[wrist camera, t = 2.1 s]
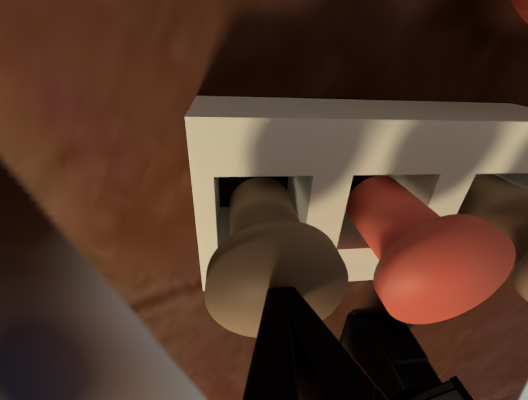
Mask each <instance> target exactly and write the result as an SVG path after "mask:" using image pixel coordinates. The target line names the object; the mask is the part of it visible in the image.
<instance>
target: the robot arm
mask: <svg viewBox="0 0 528 400" xmlns="http://www.w3.org/2000/svg"><path fill="white" fill-rule="evenodd" d="M411 326H412V324H410V323H405V322H401V321H399V320H397V319H395V318H394V317H392V316H391V315H390V314H389V313H388V312H386V313H373V314H361V315H352V316H349V317H348V318H347V320H346V324H345V327H344V330H343V333H342V337H341V340H340V341H339V340H338V339H337V338H336V336H335V335H334V334H333V333H332V332H331V330H330V329H329V328H328V327H327V325H326V324H325V323H324V322H323V321H322V319H321V318H320V317H319V316H318V315H317V313H316V312H315V311H314V310H313V309H312V307H311V306H310V305H309V304H308V303H307V301H306V300H305V299H304V298H303V297H302V295H301V294H300V293H299V292H298V291H297V289H296V288H295V287H293V286H287V287H282V288H280V287H272V288H268V290H267V294H266V298H265V303H264V307H263V311H262V316H261V320H260V325H259V329H258V333H257V338H256V342H255V347H254V351H253V356H252V360H251V364H250V369H249V373H248V378H247V382H246V386H245V391H244V395H243V400H473V399H472V397H471V396H470V395H469V393H468V392H467V390H466V389H465V388H464V386H463V385H462V383H461V382H460V381H459V379H458V378H457V376H455V377H452V378H450V380H449V381H446V382H444V383H442V382H441V380H440V379H439V377H438V375H437V374H436V372H435V371H434V369H433V368H432V366H431V364H430V363H429V361H428V360H429V359H428V357H427V355H426V354H425V352H424V351H423V349H422V348H421V346H420V344H419V343H418V341H417V340H416V338H415V337H414V335H413V334H412V332H411V330H410V328H411Z"/></svg>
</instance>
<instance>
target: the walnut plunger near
mask: <svg viewBox="0 0 528 400" xmlns="http://www.w3.org/2000/svg"><path fill="white" fill-rule="evenodd" d="M229 213H230V237H229V238H227V239H226V240H225V241H224V242H223V243H222V244H221V245H220V246H219V247H218V248H217V249H216V251H215V252H214V253H213V255H212V257H211V259H210V261H209V264H208V267H207V272H206V284H205V303H206V306H207V309H208V311H209V313H210V314H211V316H212V317H213V318H214V319H215V321H216V322H218V323H219V324H220V325H221V326H223V327H224V328H226V329H228V330H230V331H232V332H234V333H237V334H240V335H244V336H249V337H256V338H257V333H258V329H259V325H260V320H261V316H262V311H263V307H264V303H265V298H266V294H267V290H268V288H272V287H280V288H282V287H287V286H293V287H295V288H296V289H297V291H298V292H299V293H300V294H301V295H302V297H303V298H304V299H305V300H306V301H307V303H308V304H309V305H310V306H311V307H312V309H313V310H314V311H315V312H316V313H317V315H318V316H319V317H320V318H321V319H322V320H324V319H325V318H326V317H328V316H329V315H330V314H331V313H332V312H333V311H334V310H335V309H336V308H337V307H338V305H339V304H340V303H341V301H342V299H343V297H344V296H345V293H346V290H347V286H348V271H347V268H346V265H345V263H344V261H343V259H342V257H341V256H340V254H339V252H338V250H337V248H336V246H335V245H334V243H333V241H332V240H331V239H330V238H329V237H328V236H327V235H326V234H325V233H323V232H322V231H321V230H319V229H317V228H316V227H313V226H311V225H309V224H306V223H302V222H300V221H299V219H298V216H297V214H296V211H295V209H294V207H293V204H292V202H291V199H290V197H289V194H288V192H287V190H286V189H285V187H284V186H283V185H282V184H281V183H279V182H278V181H276V180H274V179H271V178H266V177H257V178H252V179H249V180H247V181H245V182H243V183H241V184H240V185H239V186H238V187H237V188H236V189H235V190H234V192H233V193H232V195H231V198H230V203H229Z"/></svg>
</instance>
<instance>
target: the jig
mask: <svg viewBox="0 0 528 400" xmlns="http://www.w3.org/2000/svg"><path fill="white" fill-rule="evenodd" d="M185 125H186V135H187V144H188V154H189V163H190V173H191V182H192V192H193V202H194V211H195V221H196V230H197V240H198V249H199V259H200V268H201V278H202V287H203V291H205V284H206V272H207V267H208V264H209V261H210V259H211V257H212V255H213V253H214V252H215V251H216V249H217V248H218V247H219V246H220V245H221V244H222V243H223V242H224V241H225V240H226V239H227V238H229V237H230V213H229V207H220V195H219V177H263V176H288V183H287V192H288V194H289V197H290V199H291V202H292V204H293V207H294V209H295V211H296V214H297V216H298V219H299V221H300V222H302V223H306V224H309V225H311V226H313V227H316V228H317V229H319V230H321V231H322V232H323V233H325V234H326V235H327V236H328V237H329V238H330V239H331V240H332V241H333V243H334V245H335V246H336V248H337V250H338V252H339V254H340V256H341V257H342V259H343V261H344V263H345V265H346V268H347V271H348V281H361V280H373V278H374V272H375V269H376V266H377V264H378V262H379V259H378V258H377V257H376V255H375V254H374V252H373V251H372V249H371V248H370V247H369V245H368V244H367V242H366V241H365V240H364V238H363V237H362V235H361V234H360V232H359V231H358V230H357V228H356V227H355V225H354V224H353V222H352V221H351V220H350V218H349V217H348V215H347V212H346V205H347V201H348V196H349V192H350V188H351V184H352V179H353V175H380V176H389V177H391V178H393V179H395V180H396V181H397V182H398V183H400V184H401V185H402V186H403V187H405V188H406V189H407V190H408V191H410V192H411V193H412V194H413V195H415V196H416V197H417V198H418V199H419V200H421V201H422V202H423V203H424V204H426V205H427V206H428V207H429V208H431V209H432V210H433V211H434V212H436V213H437V214H438V215H439V216H440V217H441V216H446V215H453V214H457V212H458V210H459V208H460V206H461V204H462V202H463V200H464V198H465V196H466V194H467V192H468V190H469V188H470V186H471V184H472V181H473V179H474V178H475V177H477V176H480V175H485V174H493V175H496V176H498V177H500V178H502V179H504V180H506V181H508V182H510V183H513V184H515V185H517V186H519V187H521V188H523V189H525V190H527V191H528V107H525V106H521V105H516V104H511V103H476V102H435V101H394V100H353V99H312V98H271V97H230V96H196V98H195V99H194V101H193V103H192V105H191V106H190V108H189V110H188V112H187V113H186V115H185Z"/></svg>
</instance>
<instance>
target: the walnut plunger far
mask: <svg viewBox="0 0 528 400" xmlns="http://www.w3.org/2000/svg"><path fill="white" fill-rule="evenodd" d="M457 214H468V215H474V216H477V217H480V218H481V219H483V220H485V221H487V222H488V223H489V224H491V225H492V226H494V227H495V228H497V229H498V230H500V231H501V232H503V233H504V234H505V235H507V236H508V237H509V238H510V239H511V240H512V242H513V243H514V246H515V251H516V256H515V262H514V265H515V266H516V268H515V270H514V272H513V276H512V286H513V288H514V290H515V291H516V292H517V293H518V294H519V295H521V296H522V297H523V298H524V299H525V300H526V301H528V191H527V190H525V189H523V188H521V187H519V186H517V185H515V184H513V183H510V182H508V181H506V180H504V179H502V178H500V177H498V176H496V175H493V174H485V175H480V176H477V177H475V178H474V179H473V181H472V184H471V186H470V188H469V190H468V192H467V194H466V196H465V198H464V200H463V202H462V204H461V206H460V208H459V210H458V212H457Z"/></svg>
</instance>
